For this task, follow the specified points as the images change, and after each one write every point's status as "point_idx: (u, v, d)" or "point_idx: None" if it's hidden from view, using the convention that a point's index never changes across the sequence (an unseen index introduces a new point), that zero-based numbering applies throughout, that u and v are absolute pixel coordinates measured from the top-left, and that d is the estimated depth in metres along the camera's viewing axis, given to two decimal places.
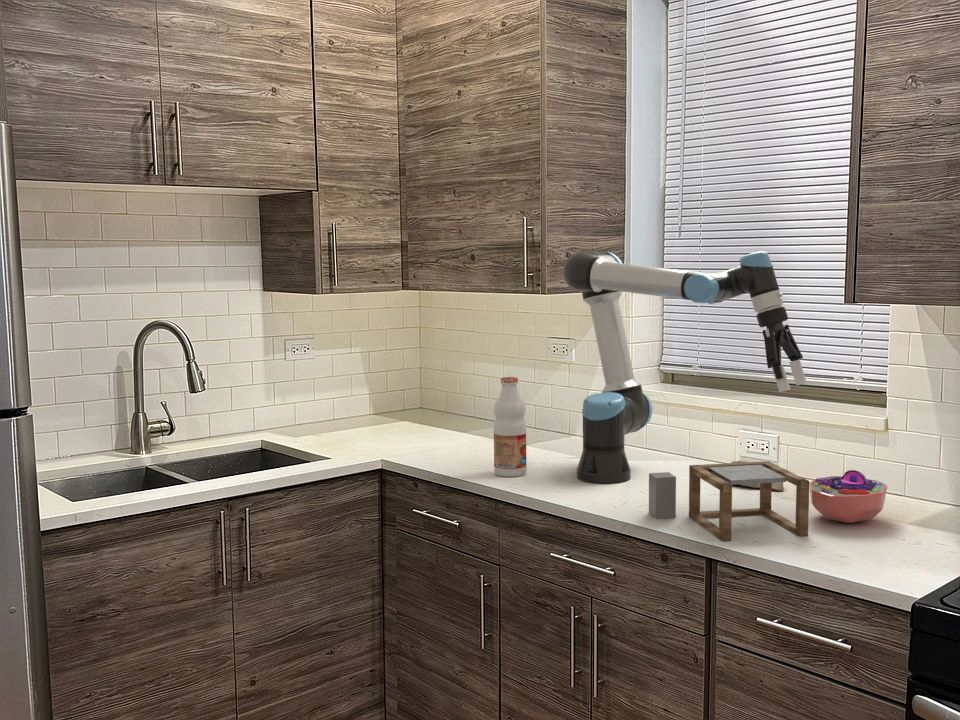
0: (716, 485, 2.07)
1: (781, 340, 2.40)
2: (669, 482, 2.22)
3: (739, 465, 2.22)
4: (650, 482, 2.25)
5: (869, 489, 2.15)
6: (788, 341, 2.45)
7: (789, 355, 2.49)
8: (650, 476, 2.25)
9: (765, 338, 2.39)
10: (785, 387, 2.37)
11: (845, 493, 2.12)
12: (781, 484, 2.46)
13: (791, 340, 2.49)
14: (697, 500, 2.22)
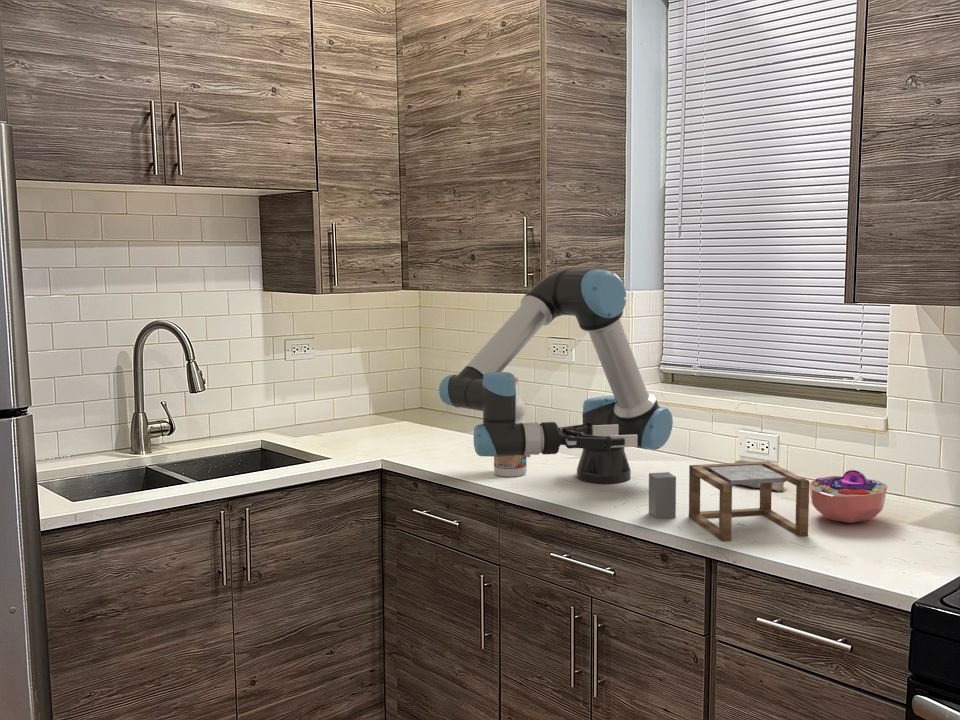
0: (716, 485, 2.07)
1: None
2: (669, 482, 2.22)
3: (739, 465, 2.22)
4: (650, 482, 2.25)
5: (869, 489, 2.15)
6: None
7: None
8: (650, 476, 2.25)
9: None
10: None
11: (845, 493, 2.11)
12: (781, 485, 2.45)
13: None
14: (697, 500, 2.22)
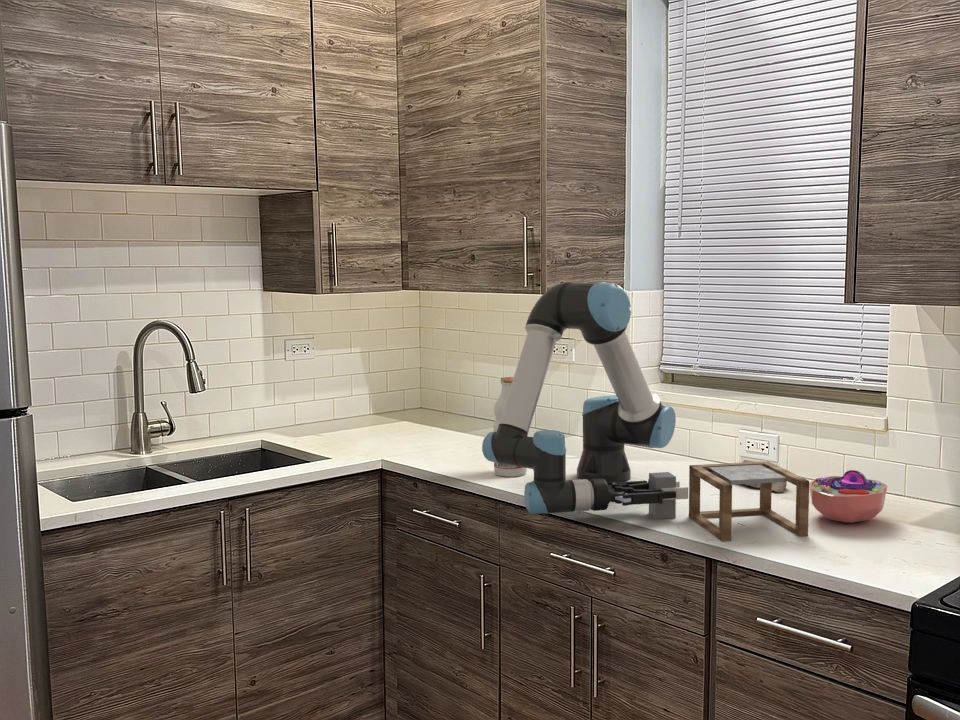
0: (716, 485, 2.07)
1: None
2: (669, 482, 2.22)
3: (739, 465, 2.22)
4: (650, 482, 2.25)
5: (869, 489, 2.15)
6: None
7: None
8: (650, 476, 2.25)
9: None
10: None
11: (845, 493, 2.12)
12: (781, 486, 2.44)
13: None
14: (697, 500, 2.22)
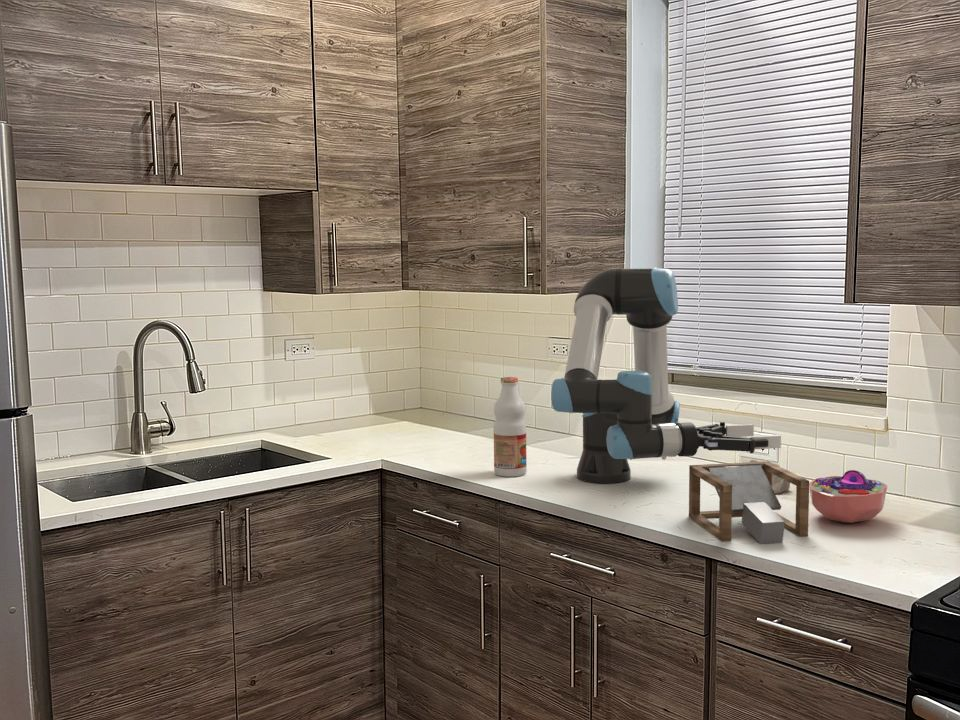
0: (716, 485, 2.07)
1: None
2: None
3: (739, 465, 2.22)
4: (758, 523, 2.03)
5: (869, 489, 2.15)
6: None
7: None
8: (761, 526, 2.01)
9: None
10: None
11: (845, 493, 2.12)
12: (779, 487, 2.43)
13: None
14: (697, 500, 2.22)
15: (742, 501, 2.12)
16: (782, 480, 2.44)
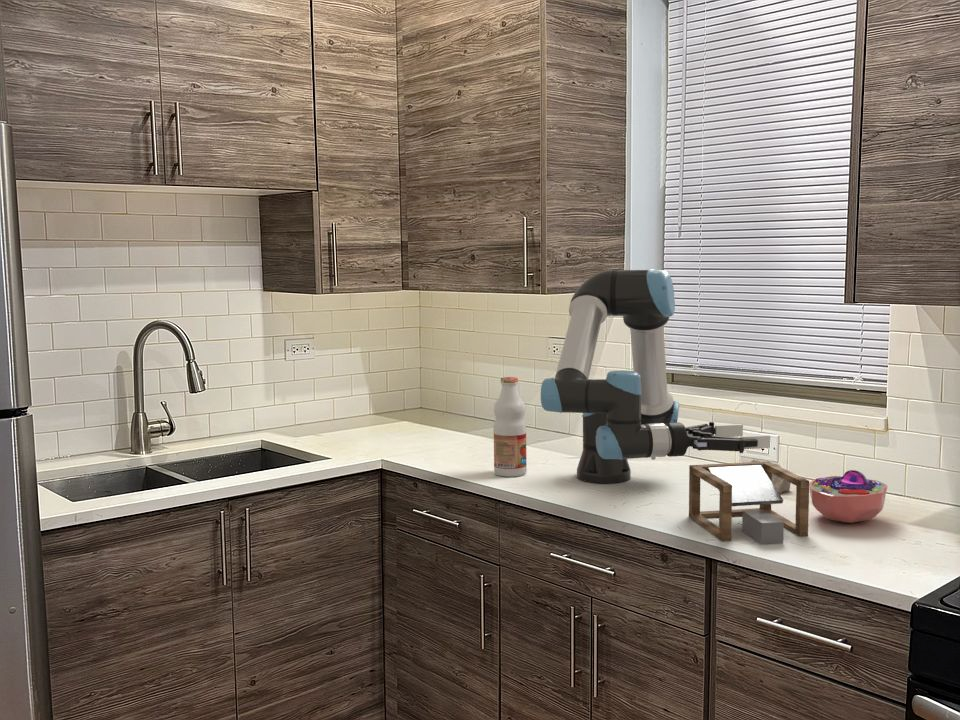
0: (716, 485, 2.07)
1: None
2: None
3: (739, 465, 2.22)
4: (757, 525, 2.03)
5: (869, 489, 2.15)
6: None
7: None
8: (760, 527, 2.02)
9: None
10: None
11: (845, 493, 2.12)
12: (778, 487, 2.43)
13: None
14: (697, 500, 2.22)
15: (744, 495, 2.11)
16: (782, 480, 2.44)
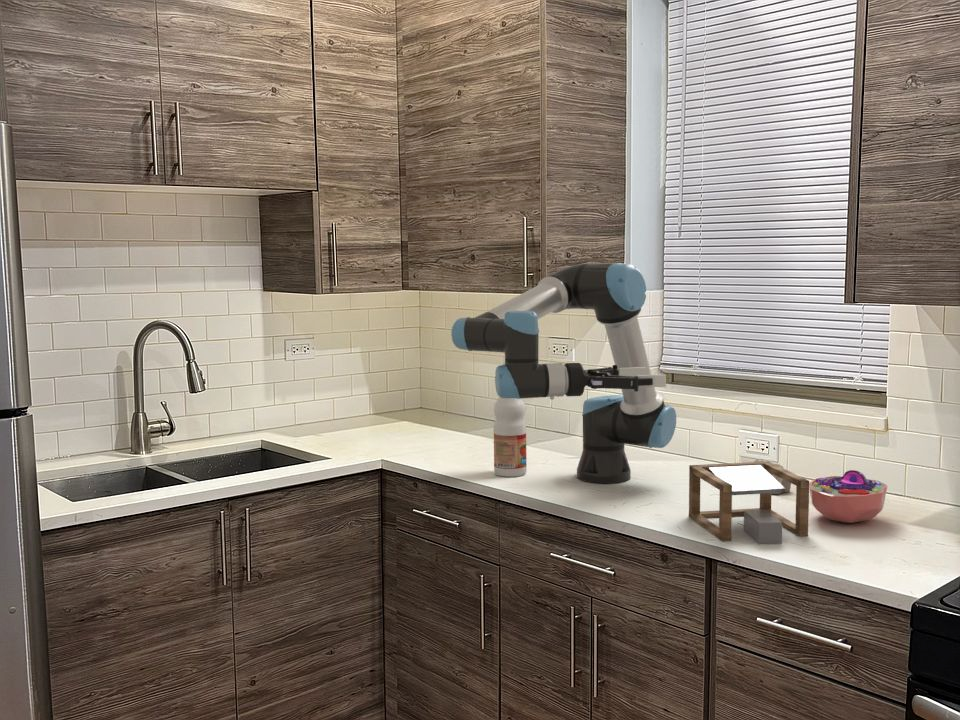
0: (716, 485, 2.07)
1: None
2: None
3: (739, 465, 2.22)
4: (756, 525, 2.03)
5: (869, 489, 2.15)
6: None
7: None
8: (758, 527, 2.02)
9: None
10: None
11: (845, 493, 2.12)
12: None
13: None
14: (697, 500, 2.22)
15: (745, 486, 2.10)
16: (780, 481, 2.43)
